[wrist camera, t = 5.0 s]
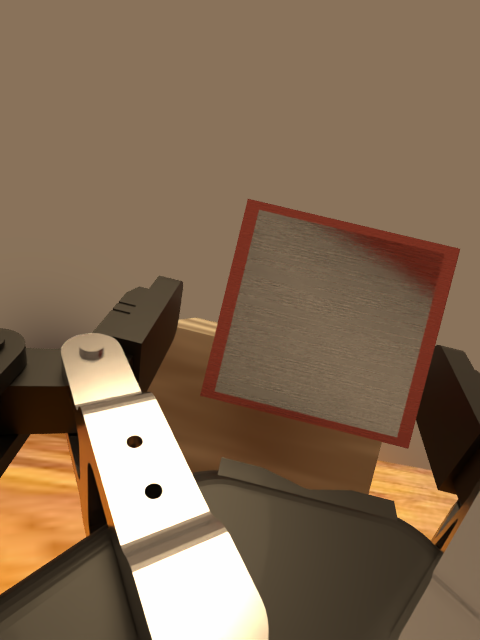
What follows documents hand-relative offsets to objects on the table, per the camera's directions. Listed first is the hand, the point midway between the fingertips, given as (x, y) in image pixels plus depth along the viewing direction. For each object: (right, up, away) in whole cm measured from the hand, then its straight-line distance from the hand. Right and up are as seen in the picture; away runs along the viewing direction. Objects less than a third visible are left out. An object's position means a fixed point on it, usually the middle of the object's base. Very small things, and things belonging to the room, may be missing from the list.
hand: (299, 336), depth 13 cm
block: (0, -1, +13) cm, 13 cm away
